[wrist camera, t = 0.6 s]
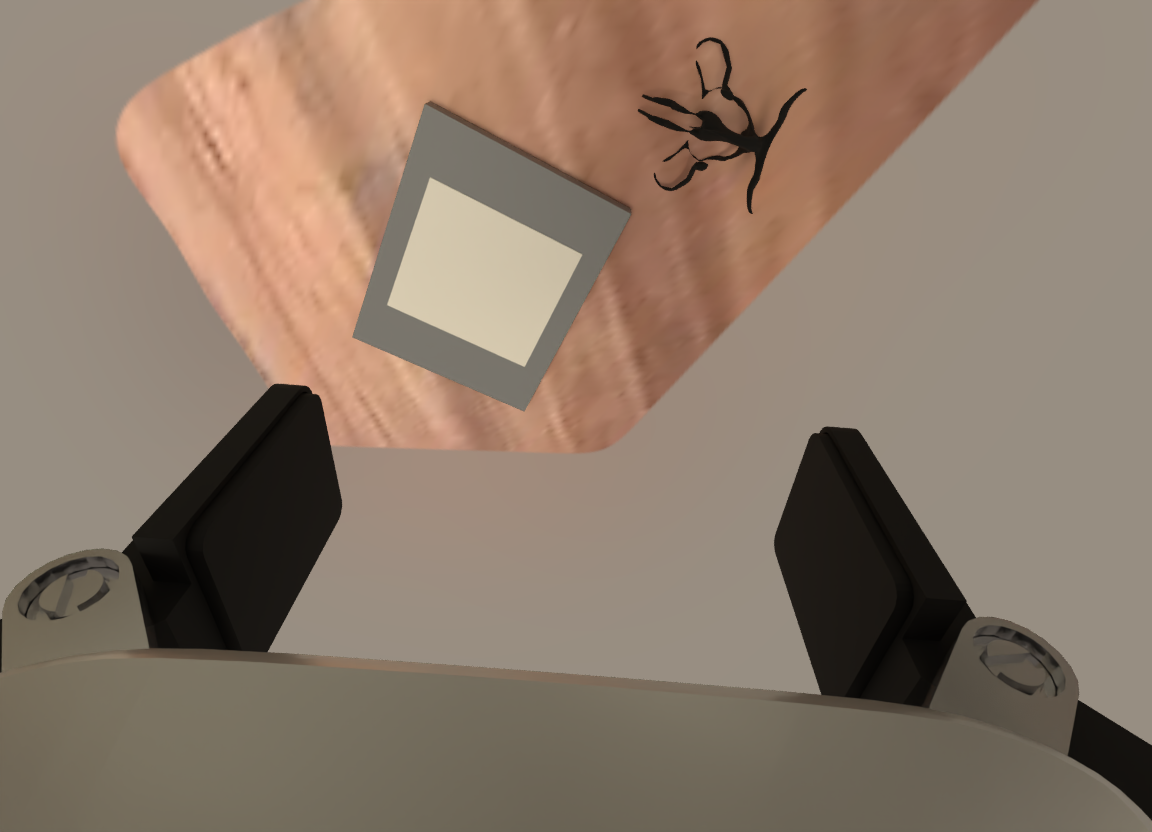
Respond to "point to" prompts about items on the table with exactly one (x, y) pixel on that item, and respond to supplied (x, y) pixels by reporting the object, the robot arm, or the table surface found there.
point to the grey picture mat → (484, 260)
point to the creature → (723, 128)
